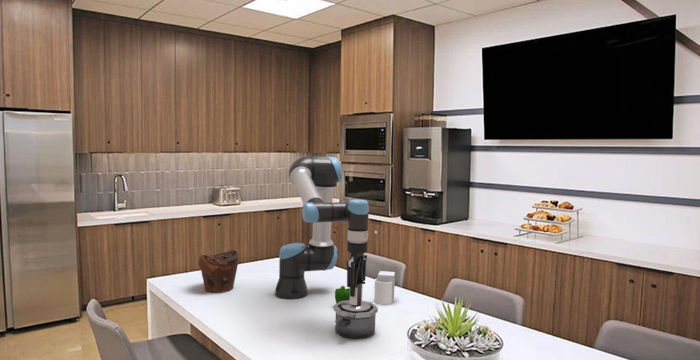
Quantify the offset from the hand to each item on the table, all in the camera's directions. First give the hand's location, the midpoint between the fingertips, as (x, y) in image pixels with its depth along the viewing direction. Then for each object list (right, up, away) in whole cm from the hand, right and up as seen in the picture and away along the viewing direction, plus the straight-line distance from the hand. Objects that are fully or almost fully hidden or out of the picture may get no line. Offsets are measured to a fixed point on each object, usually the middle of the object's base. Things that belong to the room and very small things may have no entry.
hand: (355, 302), depth 179 cm
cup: (+14, -9, +37) cm, 41 cm away
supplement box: (+14, -9, +38) cm, 41 cm away
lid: (0, -2, 0) cm, 2 cm away
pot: (0, -11, +1) cm, 11 cm away
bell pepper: (-5, -9, +27) cm, 29 cm away
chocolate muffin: (-65, -6, +49) cm, 81 cm away
